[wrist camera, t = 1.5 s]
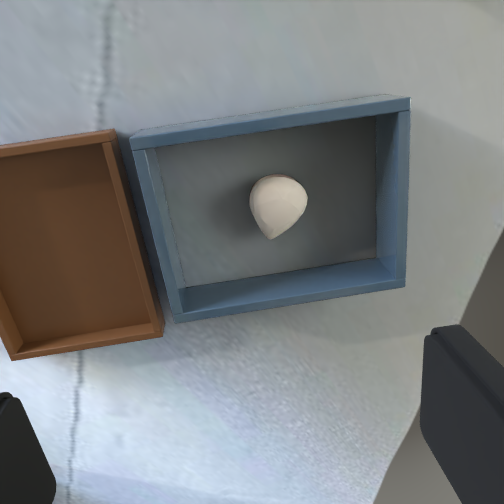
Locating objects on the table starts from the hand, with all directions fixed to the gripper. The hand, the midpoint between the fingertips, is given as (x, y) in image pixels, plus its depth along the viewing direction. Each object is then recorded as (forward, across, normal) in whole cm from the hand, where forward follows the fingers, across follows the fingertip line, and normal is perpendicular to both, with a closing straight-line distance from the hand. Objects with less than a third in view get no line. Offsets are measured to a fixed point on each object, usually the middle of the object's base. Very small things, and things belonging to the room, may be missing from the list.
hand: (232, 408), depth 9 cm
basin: (+23, -4, +2) cm, 23 cm away
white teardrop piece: (+23, -4, +2) cm, 23 cm away
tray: (+23, +13, +3) cm, 26 cm away
